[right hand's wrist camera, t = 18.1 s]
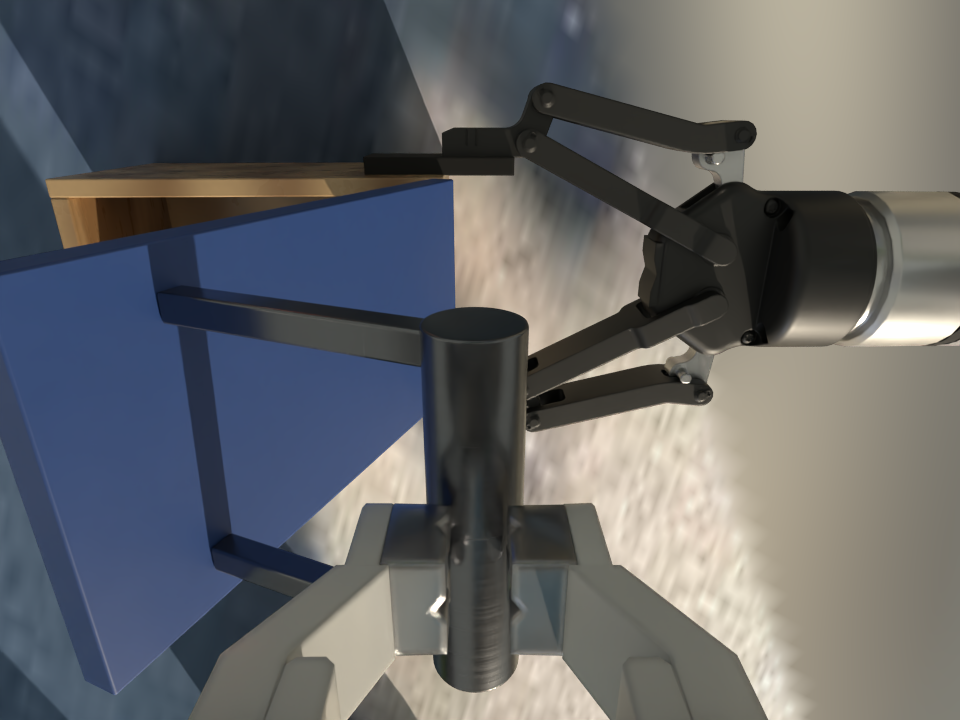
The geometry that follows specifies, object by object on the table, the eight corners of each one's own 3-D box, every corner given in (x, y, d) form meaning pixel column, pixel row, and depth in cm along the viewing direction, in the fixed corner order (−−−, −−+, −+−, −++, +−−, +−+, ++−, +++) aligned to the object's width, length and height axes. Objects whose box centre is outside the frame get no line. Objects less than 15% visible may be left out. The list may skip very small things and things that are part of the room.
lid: (84, 681, 13) (447, 865, 10) (-60, 271, 10) (428, 347, 6) (438, 383, 28) (630, 417, 25) (431, 178, 24) (655, 187, 21)
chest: (184, 321, 36) (98, 383, 28) (152, 163, 33) (44, 179, 24) (451, 319, 37) (447, 380, 28) (448, 162, 33) (443, 177, 25)
